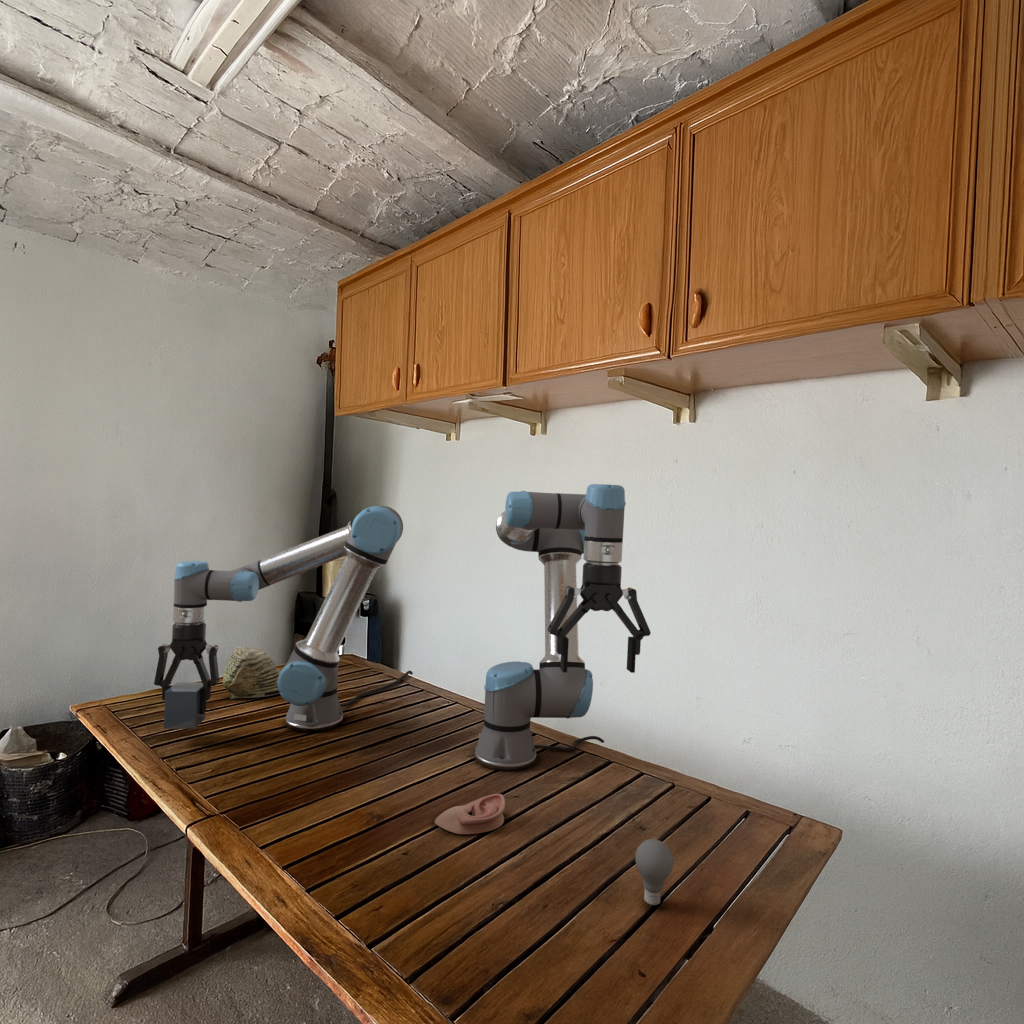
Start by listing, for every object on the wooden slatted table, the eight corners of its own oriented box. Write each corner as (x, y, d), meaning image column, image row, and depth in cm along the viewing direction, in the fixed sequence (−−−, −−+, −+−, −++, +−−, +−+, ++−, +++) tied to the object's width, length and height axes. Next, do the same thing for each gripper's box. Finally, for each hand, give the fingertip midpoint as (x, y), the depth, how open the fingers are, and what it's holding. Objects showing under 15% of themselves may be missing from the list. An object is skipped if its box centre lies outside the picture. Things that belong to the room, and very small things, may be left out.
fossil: (218, 695, 195) (220, 647, 195) (278, 685, 208) (279, 640, 207) (228, 703, 189) (230, 653, 188) (289, 692, 201) (290, 645, 201)
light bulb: (629, 891, 105) (631, 831, 105) (664, 890, 106) (667, 831, 106) (639, 914, 99) (642, 851, 99) (676, 914, 100) (679, 851, 100)
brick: (163, 729, 156) (165, 691, 156) (175, 718, 163) (176, 682, 163) (195, 728, 157) (196, 691, 157) (205, 718, 164) (207, 682, 164)
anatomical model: (430, 809, 122) (447, 784, 133) (429, 830, 122) (447, 802, 133) (497, 819, 119) (509, 792, 130) (496, 840, 119) (508, 811, 131)
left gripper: (140, 624, 155) (136, 717, 155) (227, 626, 158) (223, 717, 158) (152, 618, 162) (149, 707, 162) (236, 620, 165) (232, 707, 165)
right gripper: (543, 563, 119) (538, 675, 119) (670, 566, 122) (665, 676, 123) (536, 559, 126) (531, 665, 126) (656, 562, 130) (651, 665, 130)
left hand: (185, 712), depth 160 cm, fingers closed on brick, 7 cm apart
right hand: (597, 670), depth 124 cm, fingers open, 13 cm apart
